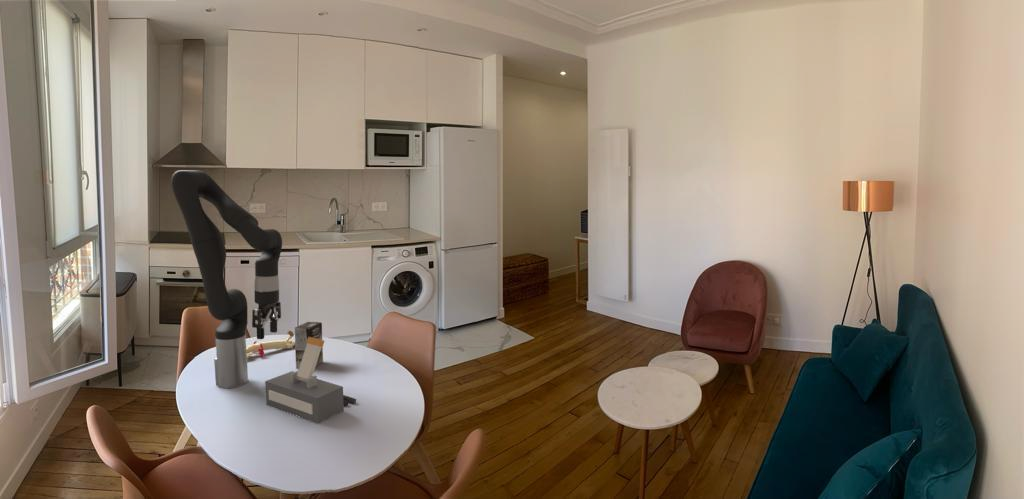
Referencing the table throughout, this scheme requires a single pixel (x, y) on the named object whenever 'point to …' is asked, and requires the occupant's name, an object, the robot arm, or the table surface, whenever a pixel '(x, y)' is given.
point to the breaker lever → (309, 359)
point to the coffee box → (301, 338)
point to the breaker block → (306, 397)
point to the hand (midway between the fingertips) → (267, 335)
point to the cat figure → (270, 345)
